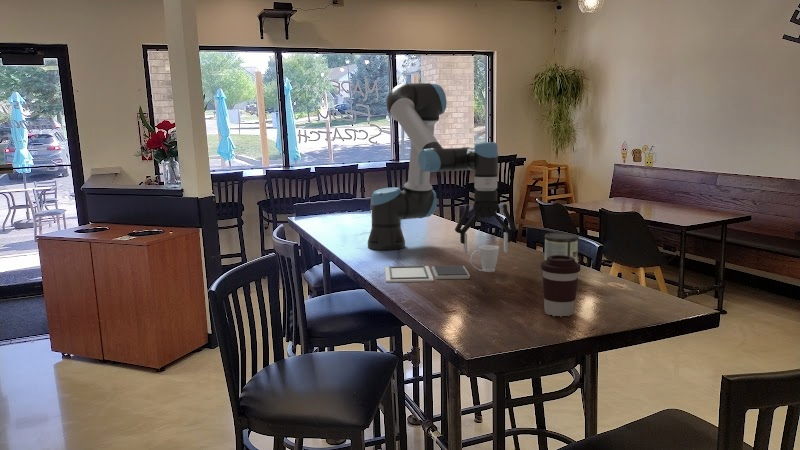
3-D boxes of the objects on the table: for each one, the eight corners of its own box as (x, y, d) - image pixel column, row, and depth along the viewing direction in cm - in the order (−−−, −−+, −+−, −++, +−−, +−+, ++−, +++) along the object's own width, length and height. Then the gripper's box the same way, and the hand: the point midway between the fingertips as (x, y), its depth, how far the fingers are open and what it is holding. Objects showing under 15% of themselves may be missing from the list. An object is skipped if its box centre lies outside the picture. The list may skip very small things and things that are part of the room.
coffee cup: (534, 308, 163) (536, 254, 160) (570, 306, 163) (572, 253, 161) (546, 320, 153) (548, 262, 150) (584, 318, 154) (586, 261, 151)
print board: (384, 268, 207) (384, 265, 207) (428, 267, 208) (428, 264, 208) (386, 282, 190) (386, 279, 189) (433, 281, 190) (433, 278, 190)
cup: (502, 272, 200) (502, 248, 199) (473, 274, 199) (473, 250, 197) (495, 267, 207) (495, 244, 206) (467, 269, 205) (467, 246, 204)
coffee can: (545, 273, 199) (546, 231, 196) (577, 276, 195) (579, 233, 193) (541, 281, 189) (543, 237, 187) (575, 284, 186) (577, 239, 183)
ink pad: (431, 269, 206) (431, 265, 205) (463, 268, 206) (463, 264, 206) (435, 279, 193) (435, 275, 193) (470, 278, 193) (470, 274, 193)
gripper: (449, 191, 194) (449, 255, 197) (526, 189, 195) (525, 253, 198) (446, 189, 201) (447, 251, 205) (520, 187, 202) (519, 249, 206)
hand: (485, 252), depth 202 cm, fingers open, 13 cm apart
